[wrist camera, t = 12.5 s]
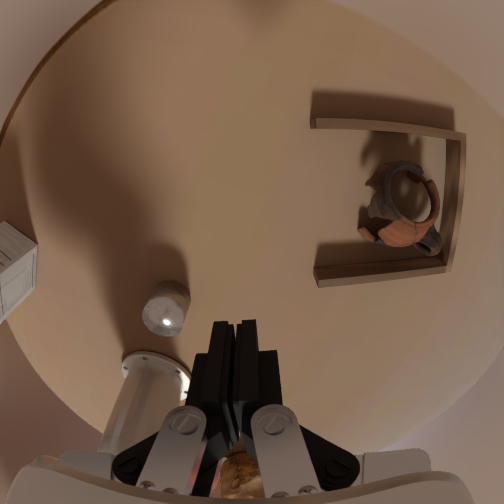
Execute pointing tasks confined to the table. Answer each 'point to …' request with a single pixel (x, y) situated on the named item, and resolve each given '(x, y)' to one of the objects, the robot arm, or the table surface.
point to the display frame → (449, 214)
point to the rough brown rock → (241, 478)
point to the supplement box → (15, 268)
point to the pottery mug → (401, 227)
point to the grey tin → (166, 309)
